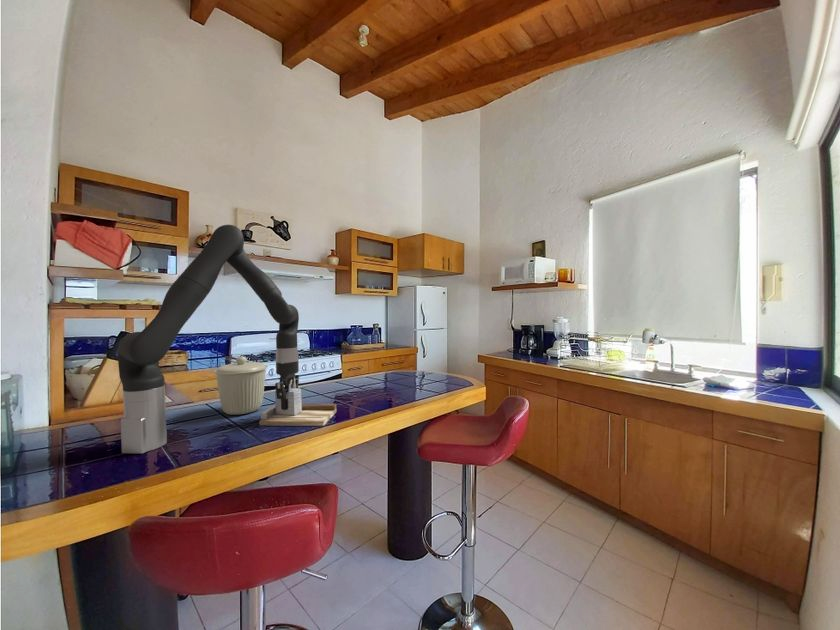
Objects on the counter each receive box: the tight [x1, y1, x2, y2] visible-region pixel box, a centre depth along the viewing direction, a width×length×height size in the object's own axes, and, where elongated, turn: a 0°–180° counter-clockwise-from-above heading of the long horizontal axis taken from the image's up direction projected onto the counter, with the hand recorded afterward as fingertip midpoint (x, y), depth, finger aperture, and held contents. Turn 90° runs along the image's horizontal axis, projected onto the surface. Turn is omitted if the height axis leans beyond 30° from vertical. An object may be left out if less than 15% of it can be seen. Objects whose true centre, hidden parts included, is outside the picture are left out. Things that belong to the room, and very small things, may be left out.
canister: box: [213, 355, 269, 416], centre depth 125 cm, size 18×18×21 cm
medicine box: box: [274, 387, 303, 415], centre depth 117 cm, size 8×4×9 cm, turn 75°
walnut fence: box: [302, 403, 337, 410], centre depth 122 cm, size 2×22×2 cm, turn 87°
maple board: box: [258, 408, 337, 427], centre depth 116 cm, size 14×22×2 cm, turn 87°
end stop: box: [260, 403, 276, 420], centre depth 116 cm, size 10×2×2 cm, turn 177°
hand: (288, 406), depth 117 cm, fingers closed on medicine box, 5 cm apart
